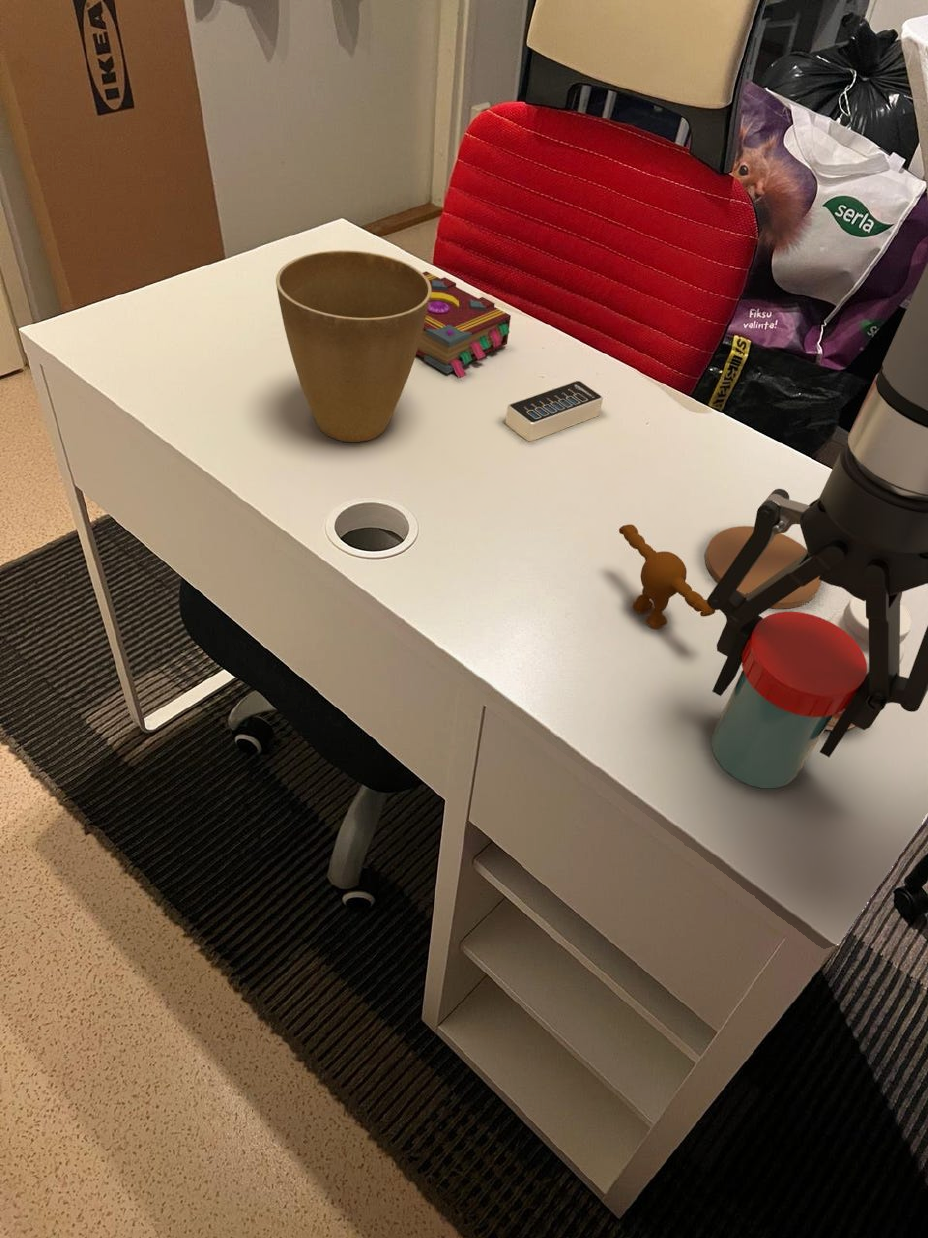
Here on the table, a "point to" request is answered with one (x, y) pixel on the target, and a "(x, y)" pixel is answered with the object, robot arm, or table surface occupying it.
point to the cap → (803, 664)
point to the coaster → (758, 563)
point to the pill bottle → (864, 633)
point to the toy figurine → (661, 581)
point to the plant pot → (352, 335)
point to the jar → (763, 738)
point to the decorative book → (459, 327)
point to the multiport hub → (553, 410)
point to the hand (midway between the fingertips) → (776, 712)
